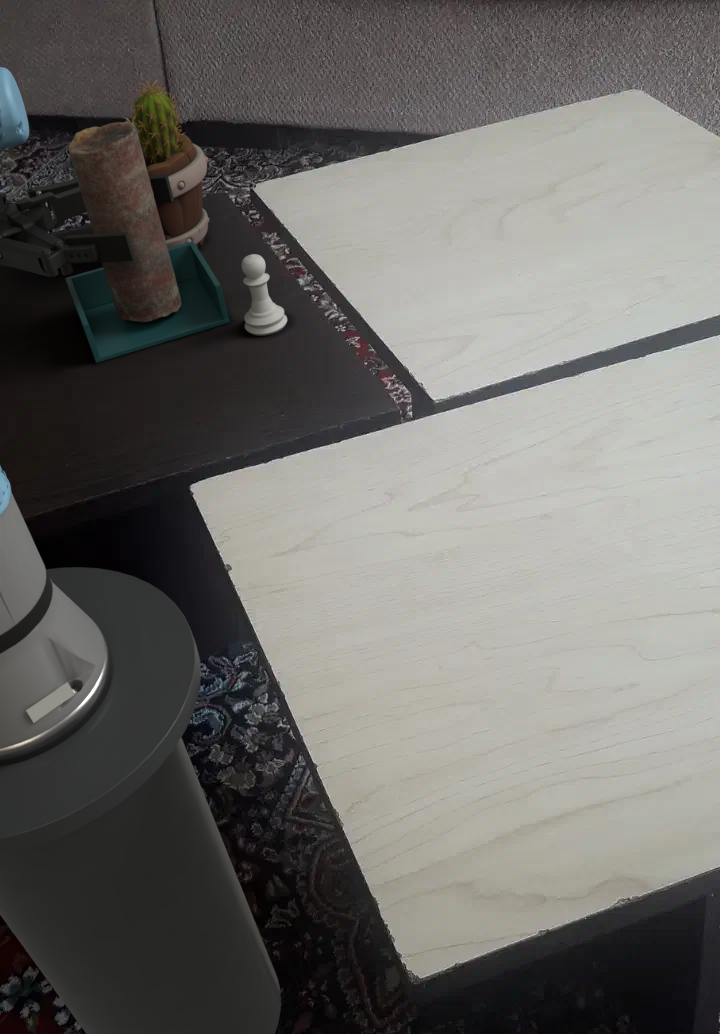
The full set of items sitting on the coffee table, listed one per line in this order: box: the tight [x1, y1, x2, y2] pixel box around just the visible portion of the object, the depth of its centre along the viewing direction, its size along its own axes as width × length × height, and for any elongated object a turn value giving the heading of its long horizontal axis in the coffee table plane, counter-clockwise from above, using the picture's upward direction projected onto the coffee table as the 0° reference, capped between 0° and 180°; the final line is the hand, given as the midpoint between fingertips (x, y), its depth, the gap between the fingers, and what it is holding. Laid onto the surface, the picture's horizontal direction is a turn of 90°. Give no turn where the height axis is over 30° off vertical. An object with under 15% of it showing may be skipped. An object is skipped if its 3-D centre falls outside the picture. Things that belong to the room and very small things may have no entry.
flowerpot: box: [122, 74, 210, 249], centre depth 126 cm, size 14×15×20 cm
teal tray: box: [65, 241, 230, 364], centre depth 120 cm, size 17×15×4 cm
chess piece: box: [241, 253, 288, 337], centre depth 113 cm, size 5×5×8 cm
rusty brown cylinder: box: [68, 121, 182, 322], centre depth 113 cm, size 8×7×20 cm
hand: (151, 216), depth 111 cm, fingers open, 13 cm apart
